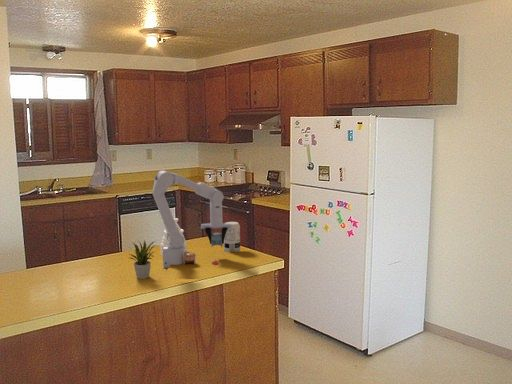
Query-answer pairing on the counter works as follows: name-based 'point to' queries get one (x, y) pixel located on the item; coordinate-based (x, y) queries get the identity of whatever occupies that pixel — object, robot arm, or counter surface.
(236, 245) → the supplement can
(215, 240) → the slate-blue dome with prongs
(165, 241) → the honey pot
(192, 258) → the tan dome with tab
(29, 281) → the counter surface
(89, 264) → the counter surface
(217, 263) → the red marble
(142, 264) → the house plant
